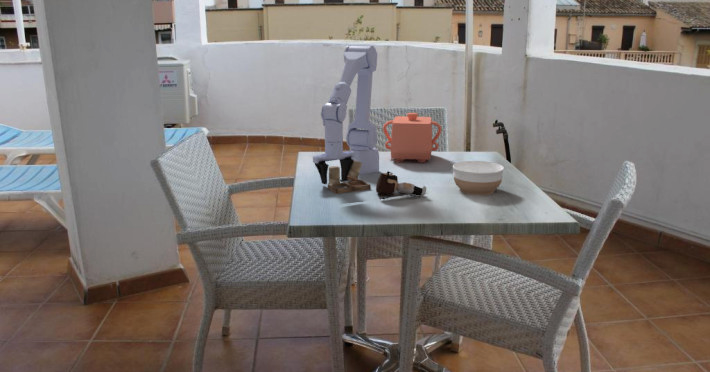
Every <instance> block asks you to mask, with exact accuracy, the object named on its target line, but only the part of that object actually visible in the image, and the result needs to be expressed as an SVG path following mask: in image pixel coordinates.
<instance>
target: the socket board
mask: <svg viewBox="0 0 710 372" xmlns="http://www.w3.org/2000/svg"><path fill="white" fill-rule="evenodd" d="M371 187H372V186H371V184H369V183H368V182H366V181H364V180H362V179H360V180H359V181H352V182H344V183H343V182H340V183H336V184H328V183H327V190H329V191H331V192H332V193H334V194H336V195H338V194H347V193H352V192H362V191H367V190H371Z"/></svg>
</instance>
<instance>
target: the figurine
mask: <svg viewBox="0 0 710 372" xmlns="http://www.w3.org/2000/svg"><path fill="white" fill-rule="evenodd" d="M398 180H399V178H398V176H397V175H396V174H393V172H390V171H389V170H387V171H386V172H381V173H380V175H379V176H378V179H377V182H376V186H375V191H376V193H378V194H380V197H381V199H382V200H388V199H389V197H388V198H387V197H385V196H393V194H394V193H395V192H396V191H397V192H399V193H400V194H404V195H405V194H407V195H413V196H417V197H420V198H423V197H424V196H425V195H426V193H427V187H426V185H423V186H422V187H419V186H417V185H415V184H413V183H409V182H399V181H398Z"/></svg>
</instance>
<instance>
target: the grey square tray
mask: <svg viewBox="0 0 710 372" xmlns="http://www.w3.org/2000/svg"><path fill="white" fill-rule="evenodd" d="M359 180H361V179H360V178H358V181H359ZM344 182H352V181H351V180H348V179H347V181H343V180H342V179H341V178H340V183H344Z"/></svg>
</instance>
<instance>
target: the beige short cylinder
mask: <svg viewBox="0 0 710 372" xmlns="http://www.w3.org/2000/svg"><path fill="white" fill-rule="evenodd" d="M361 165H362V162H359V161H355V160H354V162H353V164H352V166H351V168H350V170H349V173H348V176H347V179H348V180H351V181H358V179H359V175H360V174H359V172H360V169H361Z"/></svg>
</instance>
